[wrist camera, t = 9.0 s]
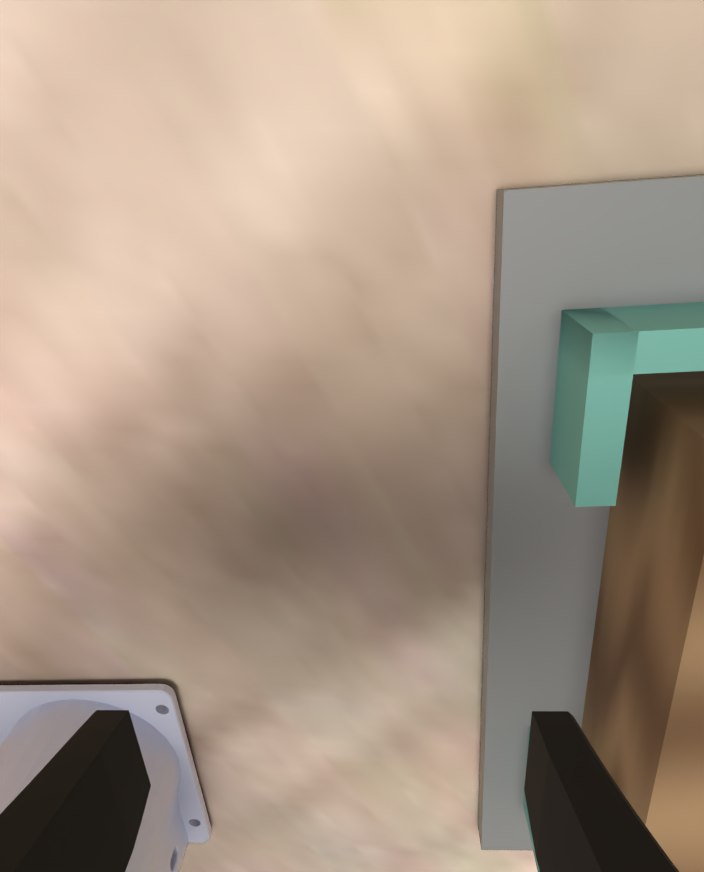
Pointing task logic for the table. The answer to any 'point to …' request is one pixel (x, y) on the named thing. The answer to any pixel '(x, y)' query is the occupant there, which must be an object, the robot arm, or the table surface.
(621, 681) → the slat
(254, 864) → the table surface
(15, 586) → the table surface
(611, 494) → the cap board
